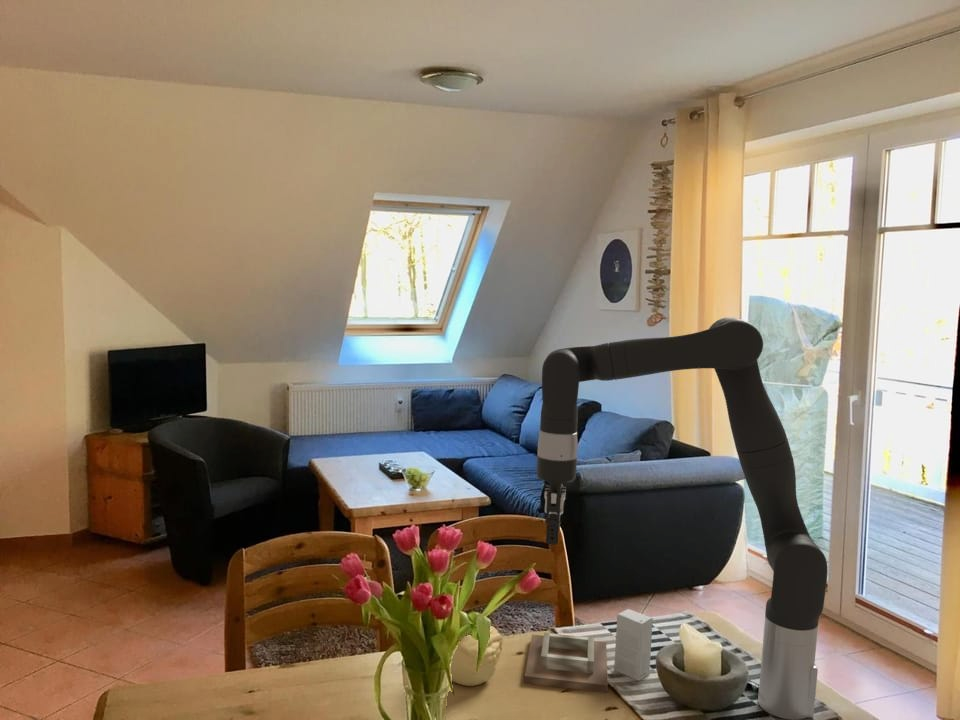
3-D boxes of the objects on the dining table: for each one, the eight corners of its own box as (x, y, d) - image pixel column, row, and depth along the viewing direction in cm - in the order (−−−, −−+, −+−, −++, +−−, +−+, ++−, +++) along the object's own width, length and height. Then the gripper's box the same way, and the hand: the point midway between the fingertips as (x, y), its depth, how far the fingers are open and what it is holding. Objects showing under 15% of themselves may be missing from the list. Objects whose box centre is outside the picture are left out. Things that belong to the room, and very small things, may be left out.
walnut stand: (605, 648, 168) (606, 631, 167) (607, 692, 150) (608, 672, 150) (531, 641, 170) (532, 623, 169) (524, 683, 152) (525, 663, 152)
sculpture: (479, 699, 146) (481, 644, 144) (427, 680, 152) (428, 627, 151) (509, 674, 155) (512, 622, 154) (459, 657, 162) (461, 607, 160)
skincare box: (650, 674, 158) (653, 617, 156) (638, 681, 154) (642, 624, 153) (624, 663, 162) (628, 608, 160) (612, 670, 159) (616, 613, 157)
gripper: (576, 464, 141) (571, 551, 143) (577, 447, 155) (573, 526, 157) (534, 461, 142) (530, 547, 144) (540, 445, 156) (536, 523, 158)
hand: (553, 536), depth 150 cm, fingers open, 8 cm apart
